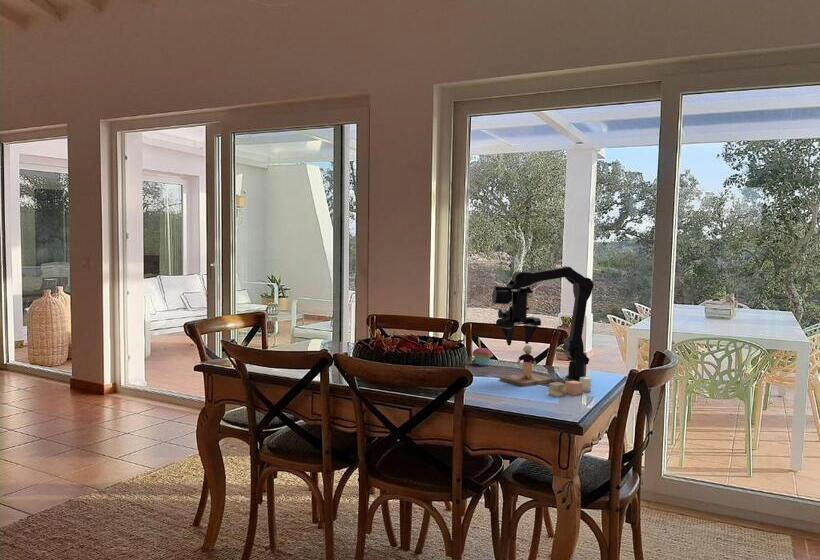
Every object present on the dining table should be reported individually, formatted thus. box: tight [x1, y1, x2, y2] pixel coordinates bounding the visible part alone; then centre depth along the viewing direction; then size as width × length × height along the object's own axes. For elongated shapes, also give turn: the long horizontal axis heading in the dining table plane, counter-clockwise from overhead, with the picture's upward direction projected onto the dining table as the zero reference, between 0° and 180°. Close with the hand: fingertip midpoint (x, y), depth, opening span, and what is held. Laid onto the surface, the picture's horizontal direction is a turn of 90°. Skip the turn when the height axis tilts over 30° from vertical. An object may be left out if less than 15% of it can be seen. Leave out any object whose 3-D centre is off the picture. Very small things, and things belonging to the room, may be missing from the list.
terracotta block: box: [565, 380, 583, 396], centre depth 231 cm, size 4×4×4 cm
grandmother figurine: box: [517, 344, 537, 379], centre depth 248 cm, size 8×4×13 cm, turn 65°
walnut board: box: [499, 372, 554, 388], centre depth 248 cm, size 16×12×1 cm
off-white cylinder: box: [579, 376, 592, 393], centre depth 235 cm, size 4×4×4 cm
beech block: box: [548, 381, 566, 398], centre depth 228 cm, size 4×4×4 cm
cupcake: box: [472, 335, 494, 366], centre depth 278 cm, size 9×8×12 cm
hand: (517, 344), depth 251 cm, fingers open, 9 cm apart
